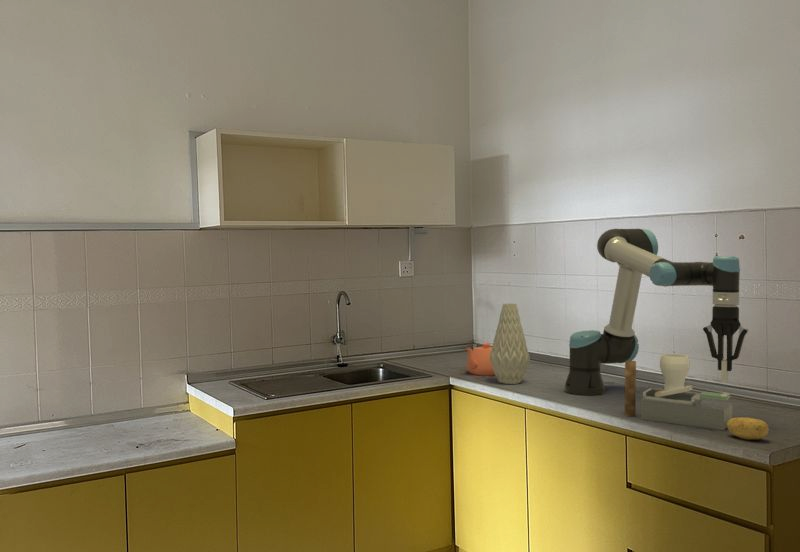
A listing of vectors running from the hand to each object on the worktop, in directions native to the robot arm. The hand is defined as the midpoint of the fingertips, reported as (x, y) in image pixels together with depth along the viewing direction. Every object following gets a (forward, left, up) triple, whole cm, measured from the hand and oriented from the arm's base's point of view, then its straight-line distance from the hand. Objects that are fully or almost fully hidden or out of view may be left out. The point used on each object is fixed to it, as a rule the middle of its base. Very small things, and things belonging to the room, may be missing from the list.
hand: (724, 381), depth 222 cm
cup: (-25, +41, -14) cm, 50 cm away
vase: (-88, +28, -14) cm, 94 cm away
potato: (+9, -13, -14) cm, 21 cm away
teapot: (-107, +42, -14) cm, 116 cm away
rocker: (-15, 0, -5) cm, 16 cm away
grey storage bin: (-11, 0, -14) cm, 18 cm away
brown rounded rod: (-28, -3, -14) cm, 32 cm away
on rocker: (-3, 0, -5) cm, 6 cm away
